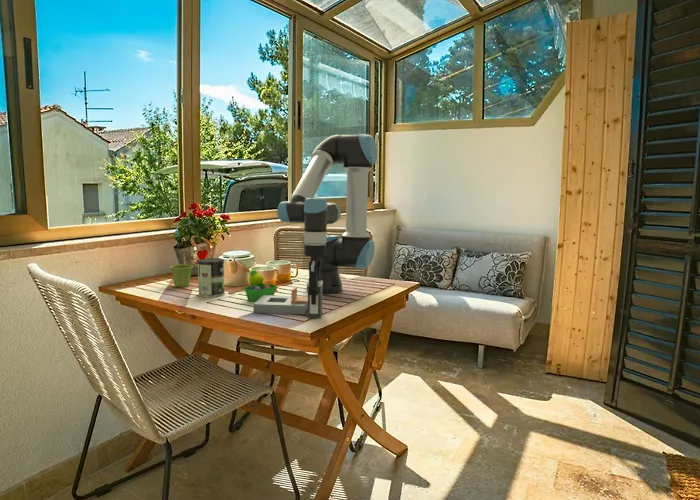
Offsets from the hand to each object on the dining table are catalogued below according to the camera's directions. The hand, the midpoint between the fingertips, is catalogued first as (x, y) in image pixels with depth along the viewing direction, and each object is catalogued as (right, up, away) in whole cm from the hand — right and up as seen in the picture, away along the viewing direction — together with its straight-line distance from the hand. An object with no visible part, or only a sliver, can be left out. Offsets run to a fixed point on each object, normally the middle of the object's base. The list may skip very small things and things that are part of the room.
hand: (315, 311), depth 171 cm
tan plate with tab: (-5, +3, +9) cm, 11 cm away
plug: (0, -2, 0) cm, 2 cm away
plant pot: (-61, +5, +45) cm, 76 cm away
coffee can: (-44, +3, +30) cm, 53 cm away
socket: (-12, 0, +10) cm, 16 cm away
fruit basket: (-23, +2, +24) cm, 33 cm away
